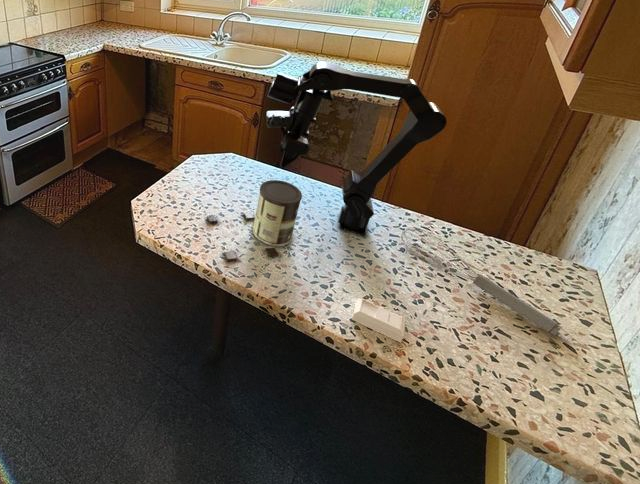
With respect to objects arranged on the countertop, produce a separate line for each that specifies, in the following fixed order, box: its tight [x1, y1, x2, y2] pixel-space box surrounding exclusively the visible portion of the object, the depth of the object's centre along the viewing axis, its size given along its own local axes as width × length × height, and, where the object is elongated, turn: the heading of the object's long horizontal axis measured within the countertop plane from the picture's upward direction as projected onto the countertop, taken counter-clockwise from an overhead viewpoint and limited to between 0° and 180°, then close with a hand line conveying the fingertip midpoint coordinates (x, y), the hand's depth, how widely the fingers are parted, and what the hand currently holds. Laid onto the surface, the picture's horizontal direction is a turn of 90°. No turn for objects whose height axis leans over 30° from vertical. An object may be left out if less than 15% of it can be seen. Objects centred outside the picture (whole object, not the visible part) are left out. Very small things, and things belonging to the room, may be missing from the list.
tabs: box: [206, 211, 279, 262], centre depth 108 cm, size 13×17×1 cm
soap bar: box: [351, 297, 406, 343], centre depth 84 cm, size 5×9×3 cm, turn 54°
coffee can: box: [252, 179, 303, 247], centre depth 106 cm, size 10×10×14 cm
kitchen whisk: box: [400, 226, 574, 342], centre depth 92 cm, size 6×34×6 cm, turn 29°
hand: (281, 159), depth 110 cm, fingers open, 9 cm apart
